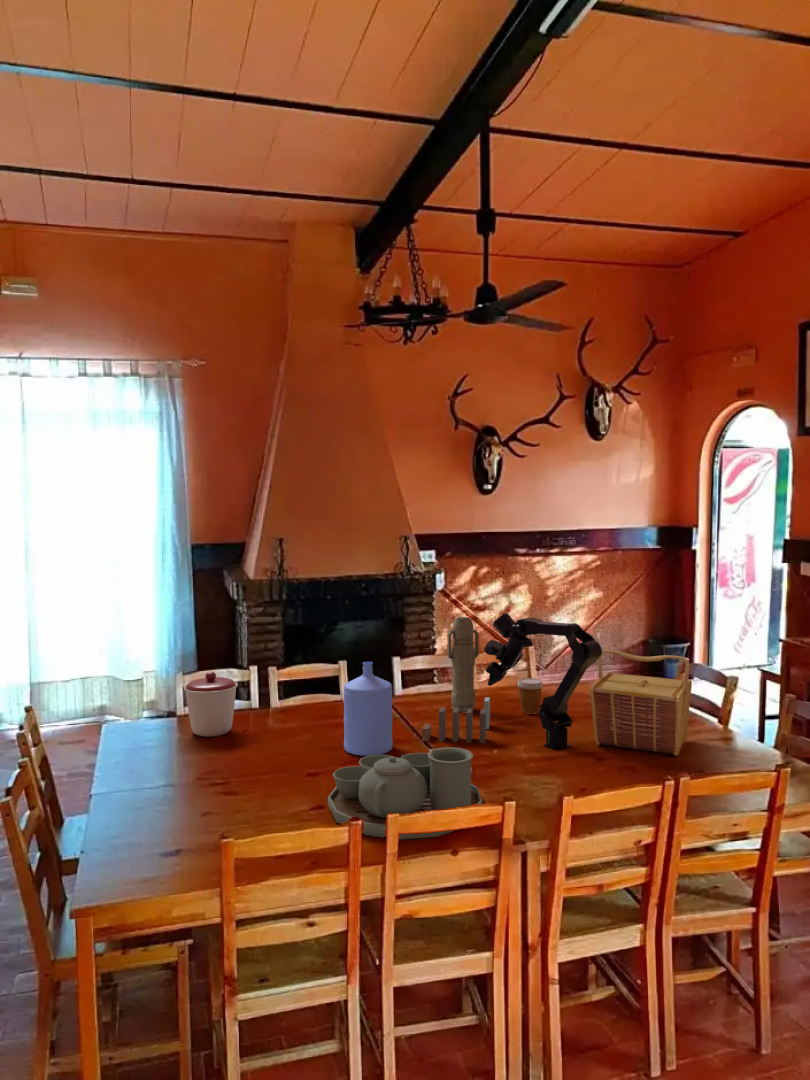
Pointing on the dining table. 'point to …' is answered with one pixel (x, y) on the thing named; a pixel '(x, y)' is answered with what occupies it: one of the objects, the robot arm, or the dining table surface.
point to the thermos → (463, 663)
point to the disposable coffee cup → (530, 694)
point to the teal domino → (487, 711)
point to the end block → (426, 732)
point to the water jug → (368, 714)
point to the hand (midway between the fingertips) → (494, 679)
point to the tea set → (403, 787)
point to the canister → (211, 704)
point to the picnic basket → (641, 708)
